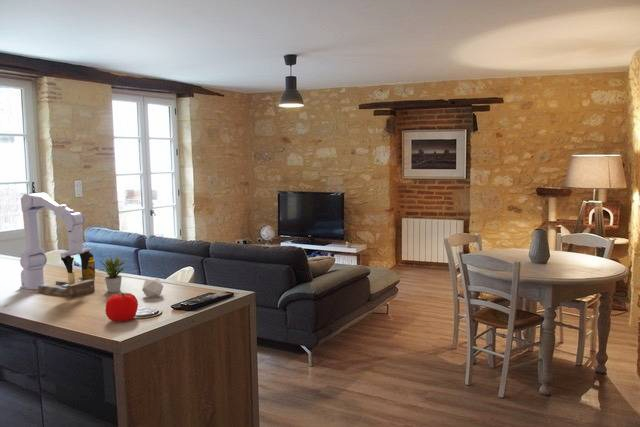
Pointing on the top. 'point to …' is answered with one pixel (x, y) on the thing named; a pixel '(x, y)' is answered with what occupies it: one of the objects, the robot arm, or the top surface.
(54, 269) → the top surface
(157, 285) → the die
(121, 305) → the tomato
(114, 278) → the house plant
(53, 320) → the top surface
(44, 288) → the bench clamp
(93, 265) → the condiment
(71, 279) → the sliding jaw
